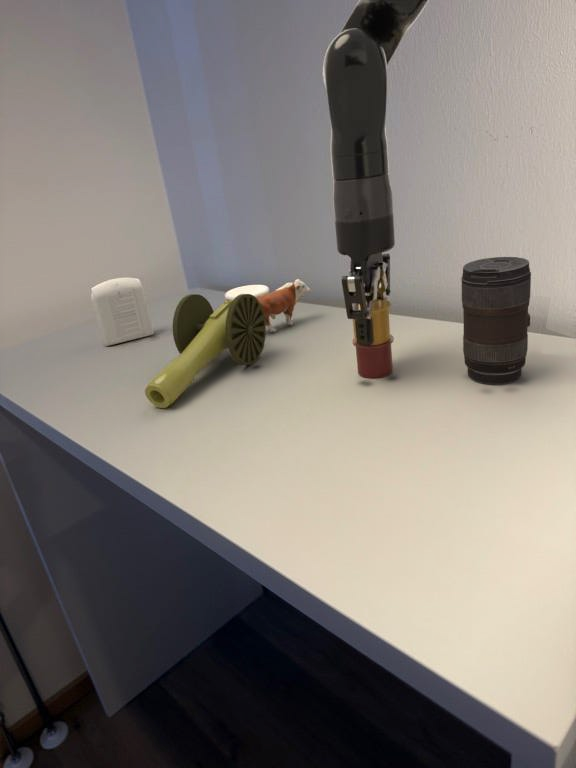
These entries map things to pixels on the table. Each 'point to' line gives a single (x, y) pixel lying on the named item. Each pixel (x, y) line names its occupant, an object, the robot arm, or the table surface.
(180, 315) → the cannon
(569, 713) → the table surface
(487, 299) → the camera lens
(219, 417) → the table surface
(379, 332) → the gold pod
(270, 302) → the bull figurine
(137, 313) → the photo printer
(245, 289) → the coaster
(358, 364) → the burgundy pod
